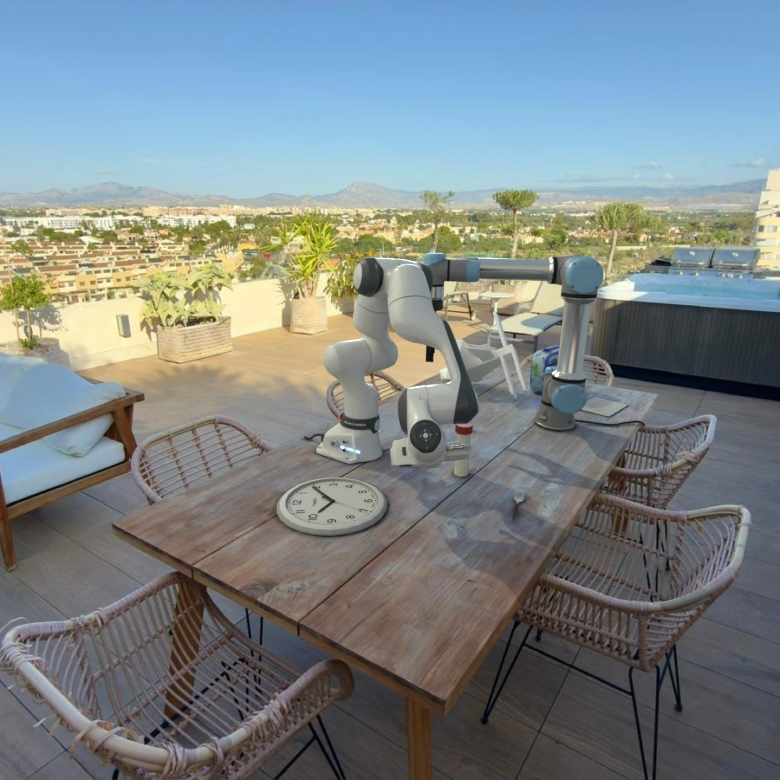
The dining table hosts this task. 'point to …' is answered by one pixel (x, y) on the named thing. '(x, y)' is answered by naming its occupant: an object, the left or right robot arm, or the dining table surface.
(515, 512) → the fork
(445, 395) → the left robot arm
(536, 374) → the lunch box
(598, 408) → the invitation card
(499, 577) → the dining table surface
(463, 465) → the jar
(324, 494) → the wall clock
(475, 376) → the white plastic object
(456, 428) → the lid
